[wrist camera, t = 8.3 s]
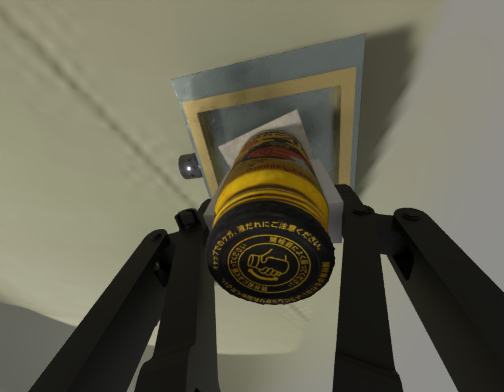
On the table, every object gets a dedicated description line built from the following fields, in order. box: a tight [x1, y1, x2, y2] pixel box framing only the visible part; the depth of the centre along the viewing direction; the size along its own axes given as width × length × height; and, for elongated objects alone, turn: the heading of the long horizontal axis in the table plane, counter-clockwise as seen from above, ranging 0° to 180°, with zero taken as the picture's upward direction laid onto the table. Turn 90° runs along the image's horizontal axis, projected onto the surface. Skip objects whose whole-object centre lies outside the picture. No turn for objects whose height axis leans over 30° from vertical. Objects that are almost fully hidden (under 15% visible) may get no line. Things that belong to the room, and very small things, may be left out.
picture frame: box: [171, 33, 366, 199], centre depth 22 cm, size 18×19×6 cm
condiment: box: [205, 109, 335, 305], centre depth 13 cm, size 7×8×12 cm
